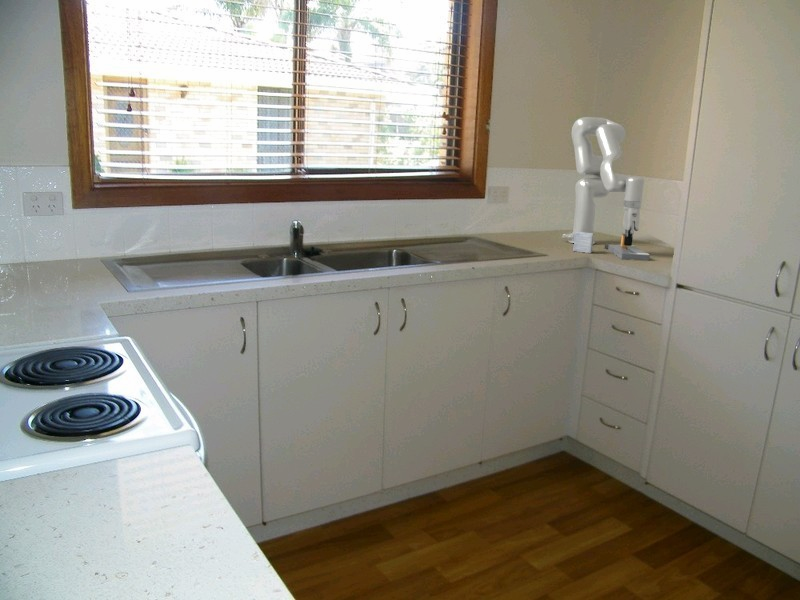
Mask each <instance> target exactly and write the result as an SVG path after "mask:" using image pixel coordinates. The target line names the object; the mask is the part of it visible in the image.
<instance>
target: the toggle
mask: <svg viewBox="0 0 800 600" xmlns="http://www.w3.org/2000/svg"><path fill="white" fill-rule="evenodd" d="M624 238H625V233H624V232H623V233H621V238H620V239H621V240H620V245H621V246H623V248H625V249H626V247H629V246H625V245H624Z"/></svg>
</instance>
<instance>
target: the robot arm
mask: <svg viewBox="0 0 800 600" xmlns="http://www.w3.org/2000/svg"><path fill="white" fill-rule="evenodd" d="M589 136H593V137H596V140H597V144H598V146H599V149H600V152H601V155H595V154H594V147H593V144H592V142H591V140H590V139H589ZM625 138H626V130H625V128H624V127H623V126H622V125H621V124H620V123H617V122H615V121H612V120H610V119H608V118H604V117H593V116H585V117H584V116H583V117H580V118H578V119H576V120H575V122H574V123H573V125H572V127H571V140H572V143H573V149H574V158H575V166H576V167H575V168H576V172H577V173H578V174H579V175H580V176H588V177H583V178H581V179H578V181H577V182H575V186H574V188H575V189H574V190H575V191H574V193H575V206H574V217H573V218H574V219H573V224H572V225H573V228H572V232H570V233H569V234H568V233H563V234H562V238H563V239H568V243H571V244H573V243H574V237H575V233H576V232H583V233H592V234H594V226H595V216H596V203H595V200H594V199H596V198H597V199H598V198H599V199H600V198H605V197H607V196H608V195H609V194H610V193H624V197H623V206H622V208H623V209H624V211H623V219H622V228H623V229H624V234H625V238H624V245H625V246H632V245H633V238H634V234H635V232H638V231H639V228H640V210H641V209H642V201H643V192H644V178H643V177H638V176H630V175H623V174H621V175H615V172H614V169H613V162H615V161H616V160H618V159H620V157H621V156H622V154H623V152H622V149H621V146H620V143H622V142H624V140H625ZM589 176H592V177H589ZM595 244H596V241H595V240H593V245H595Z"/></svg>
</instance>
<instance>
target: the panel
mask: <svg viewBox="0 0 800 600" xmlns="http://www.w3.org/2000/svg"><path fill="white" fill-rule="evenodd" d="M608 245H609V246H608V249H607V250H608V251H609V250H610V251H609V252H611V253H612V254H613V253H614V255H615V256H616V255H617V258H619V259H621V260H628V259H634V260H633V261H648V260H649V261H650V257H651V255H650V254H649V253H647V252H646V251H644V250H643V249H640V248H639V247H637V246H636V245H633V244H632V246H629V247H626V249H625V248H623V246H621V244H608Z"/></svg>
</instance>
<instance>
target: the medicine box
mask: <svg viewBox="0 0 800 600" xmlns="http://www.w3.org/2000/svg"><path fill="white" fill-rule="evenodd" d="M594 236H595V235H594V233H593V234H592V233H583V232H576V233H575V237H574V244H573V246H572V247H573V248H572V252H573V251H577V252H576V253H582V252H585V254H592V252H593V245H594V244H593V241H594Z"/></svg>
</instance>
